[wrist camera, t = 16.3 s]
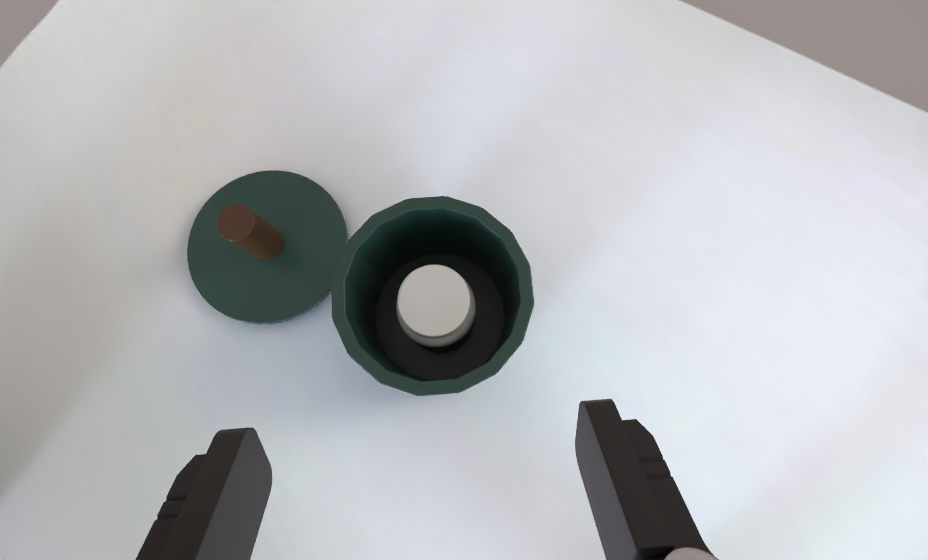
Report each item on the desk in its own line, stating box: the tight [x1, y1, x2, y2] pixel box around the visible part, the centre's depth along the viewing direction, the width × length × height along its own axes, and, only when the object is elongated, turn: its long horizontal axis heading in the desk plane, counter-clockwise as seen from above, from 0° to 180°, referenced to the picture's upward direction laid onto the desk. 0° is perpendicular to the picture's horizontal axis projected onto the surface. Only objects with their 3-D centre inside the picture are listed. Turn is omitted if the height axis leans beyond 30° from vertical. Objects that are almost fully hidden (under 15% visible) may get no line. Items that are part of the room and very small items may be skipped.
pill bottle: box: [396, 265, 476, 353], centre depth 30 cm, size 5×5×8 cm
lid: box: [187, 171, 348, 324], centre depth 33 cm, size 11×11×6 cm
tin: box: [331, 196, 534, 396], centre depth 30 cm, size 10×10×10 cm
